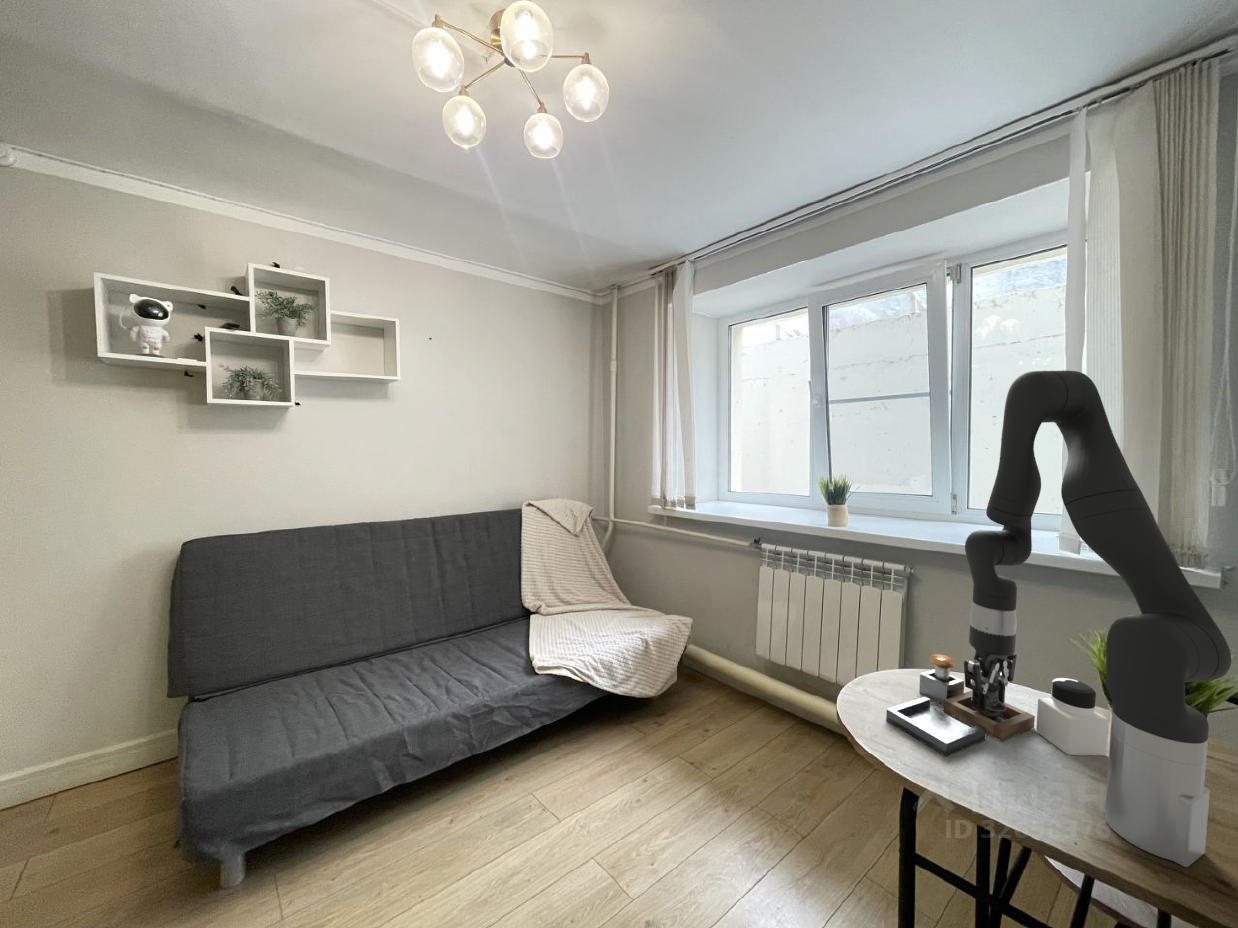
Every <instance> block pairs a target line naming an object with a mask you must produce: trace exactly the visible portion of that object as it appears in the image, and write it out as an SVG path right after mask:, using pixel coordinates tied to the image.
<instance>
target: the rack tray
mask: <svg viewBox="0 0 1238 928" xmlns="http://www.w3.org/2000/svg"><path fill="white" fill-rule="evenodd" d="M885 716H886V717H885V719H886V720H885V721H886V722H888V723H889V724H891V725H893V726H894V727H896V728H898V729H899V730H901V731H903V732H904V733H906V734H907V735H909V736H911V737H913V738H914V739H916V740H918V741H919V742H920V743H923V744H924V745H926V746H927V747H929V748H931V749H932V750H933V751H936V752H937V753H939V754H940V755H942V756H944V757H948V756H951V755H953V754H956V753H958V752H960V751H963V750H966V749H968V748H970V747H973V746H975V745H977V744H980V743H983V742H985V741H986V739H987V737H986V735H987V734H986V728H985V727H983V726H981V725H977V726H974V727H973V726H972V727H970V725H968V724H966V723H963V722H961V721H960V720H957V718H956V719H955V717H953V716H950V715H949V714H946V713H944V712H942V711H940V710H939V709H936V708H935V707H933V706H931V698H929V697H927V696H922V697H919V698H916V699H914V700H913V699H912V700H910V701H906V702H903V703H901V704H898V705H893V706H892V707H889V708H886V715H885Z"/></svg>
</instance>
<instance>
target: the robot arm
mask: <svg viewBox="0 0 1238 928" xmlns="http://www.w3.org/2000/svg"><path fill="white" fill-rule="evenodd" d="M1008 388H1009V389H1008V391H1007V393H1006V394H1007V395H1006V398H1005V403H1004V412H1003V422H1002V429H1001V431H1002V432H1001V441H1000V452H999V460H998V461H999V462H998V468H997V471H996V472H997V473H996V477H995V480H994V483H993V486H992V490H991V493H990V496H989V499H988V504H987V507H986V510H985V511H986V517H987V518H988V519H989V520H990V521H992V522H994V523H996V524H999V525H1001V526H1003V527H1002V530H988V529H987V530H981V529H979V530H975V531H972V532H971V533H970V534H969V535H968V536H967V538H966V540H965V543H964V550H965V551H964V552H965V555H966V558H967V563H968V566H969V570H970V574H971V579H972V582H973V586H972V587H973V588H972V604H971V607H970V608H971V609H970V613H969V617H970V618H969V632H968V633H969V635H968V643H969V645H970V647H972V648H973V649H974V650H975V652H974V653H975V654H974V657H973V660H968V659H965V660H964V662H963V669H964V673H963V674H964V688H967V689H969V690H970V691H972V690H973V694H972V706H973V707H972V708H974V707H975V708H977V709H979V710H981V711H984V710H985V709H986V692H987V689H988V686H989V684H992V683H993V680H994V676H995V673H996V672H998V673H999V680H998V685H999V686H1000V690H998V699H999V701H1000V702H1002V703H1004V702H1006V701H1005V697H1006V687H1008V685H1009V682H1010V683H1012V682H1013V681H1014V676H1015V671H1016V670H1015V669H1016V661H1017V654H1016V641H1017V623H1018V622H1017V621H1018V619H1017V597H1018V595H1017V593H1018V588H1017V583H1016V581H1014V579H1012V578H1009V577H1008V576H1007V577H1006V576H1004V575H999V574H997V571H996V569H995V566H1008V567H1009V566H1013V567H1014V566H1020V565H1022V564H1023V563H1025V562H1026V561H1027V560H1028V559H1029V558H1030V557H1031V553H1032V549H1033V545H1032V542H1033V541H1032V517H1033V514H1034V512H1035V509H1036V506H1037V503H1038V501H1039V498H1040V494H1041V490H1042V478H1041V474H1040V469H1039V467H1038V464H1037V461H1036V457H1035V449H1034V448H1035V440H1036V437H1037V434H1038V432H1039V429H1040V427H1041V425H1042V424H1043V423H1055V424H1056V426H1057V428H1058V429H1059V432H1060V433H1061V435H1062V437H1063V440H1064V442H1065V445H1066V448H1067V449H1066V450H1067V462H1066V466H1065V469H1064V474H1063V477H1062V481H1061V488H1060V489H1061V490H1060V492H1061V493H1060V494H1061V495H1060V496H1061V499H1062V502H1063V503H1062V504H1063V505H1064V507H1065V509H1066V512H1067V514H1068V517H1069V519H1070V521H1071V523H1072V526H1073V528H1074V530H1075V532H1076V534H1077V536H1079V537H1080V539H1081V540H1082V541H1083V542H1084V543H1085V544H1086V545H1087V546H1088V547H1089V548H1090V549H1091V550H1092V551H1093V552H1094V553H1095V554H1096V555H1097V556H1098V557H1099V558H1101V559H1102V560H1103V562H1105V563H1107V564H1108V566H1109V567H1110V568H1111V569H1112V570H1114V571H1115V572H1116V573H1117V575H1119V577H1120V578H1121V579H1122V580H1123V581H1124V582H1125V584H1126V585H1127V587H1128V588H1129V590H1130V592H1131V593H1132V596H1133V597H1134V598H1133V599H1134V600H1135V602H1136V605H1137V606H1138V608H1139V610H1140V613H1141V614H1138V613H1137V614H1129V615H1128V614H1127V615H1123V616H1120V617H1118V618H1117V619H1115V620H1114V621H1113V623H1112V624H1111V625H1110V627H1109V629H1108V631H1107V637H1106V641H1105V642H1106V644H1105V645H1106V646H1105V648H1106V649H1105V650H1106V651H1105V669H1106V670H1105V675H1106V676H1105V680H1106V688H1107V691H1108V694H1109V696H1110V699H1111V700H1112V701H1111V702H1112V705H1111V706H1112V708H1111V721H1110V732H1109V733H1110V736H1109V737H1110V738H1109V749H1108V761H1107V763H1108V765H1107V777H1106V792H1105V794H1106V795H1105V802H1104V820H1105V822H1106V823H1107V824H1108V826H1109V828H1111V829H1112V830H1113V831H1114V832H1115V833H1116V834H1117V835H1119V836H1120V837H1121V838H1122V839H1124V840H1125V841H1127V842H1129V843H1130V844H1131V845H1133V846H1135V847H1137V848H1138V849H1141V850H1143V851H1145V852H1148V853H1149V854H1152V855H1154V856H1156V857H1160V858H1162V859H1166V860H1170V861H1172V862H1175V863H1176V864H1179V865H1180V866H1182V867H1184V868H1188V867H1190V866H1191V865H1192V864H1194V862H1195V861H1197V860H1198V859H1199V858H1201V857H1202V856H1203V855H1204V854H1205V853H1206V843H1207V830H1208V818H1209V807H1210V806H1209V805H1210V794H1211V791H1210V789H1209V788H1208V787H1207V786H1205V778H1206V777H1205V776H1206V766H1207V765H1206V763H1207V751H1208V741H1209V731H1210V724H1209V720H1208V719H1207V718H1206V716H1205V715H1204V714H1203V713H1202V712H1201V711H1199V710H1197V709H1196V708H1194V707H1193V706H1191V705H1189V704H1187V703H1186V683H1189V682H1191V683H1193V682H1207V681H1214V680H1218V679H1221V678H1222V677H1224V676H1225V675H1226V674H1228V672H1229V670H1230V669H1231V665H1232V654H1231V650H1230V646H1229V644H1228V642H1227V640H1226V638H1225V636H1224V633H1222V631H1221V629H1220V628H1219V627H1218V625H1217V623H1216V622H1215V620H1214V619H1213V616H1211V614H1210V613H1209V611H1208V610H1207V608H1206V606H1204V603H1203V602H1202V601H1201V599H1200V598H1199V596H1198V595H1197V594H1196V592H1195V590H1194V589H1193V587H1192V586H1191V584H1190V583H1189V580H1188V579H1187V578H1186V576H1185V574H1184V573H1183V570H1182V569H1181V567H1180V565H1179V564H1178V561H1177V560H1176V557H1175V555H1174V554H1173V552H1172V549H1171V548H1170V546H1169V545H1168V543H1167V541H1166V539H1165V537H1164V535H1163V533H1162V532H1161V530H1160V528H1159V525H1158V523H1157V520H1156V519H1155V517H1154V516H1155V515H1154V514H1153V512H1152V510H1151V507H1150V506H1149V504H1148V502H1147V499H1146V498H1145V496H1144V494H1143V492H1142V490H1141V488H1140V487H1139V485H1138V483H1137V481H1136V480H1135V478H1134V476H1133V474H1132V472H1131V471H1130V468H1129V466H1128V464H1127V461H1126V460H1125V456H1124V455H1123V453H1122V451H1121V448H1120V446H1119V444H1118V443H1117V439H1116V438H1115V436H1114V433H1113V430H1112V428H1111V425H1110V421H1109V419H1108V416H1107V412H1106V410H1105V407H1104V403H1103V401H1102V398H1101V395H1100V393H1099V390H1098V388H1097V386H1096V385H1095V383H1094V381H1093V380H1092V379H1091V378H1090V377H1089V376H1088V375H1086V374H1085V373H1083V372H1080V371H1078V370H1077V371H1076V370H1067V369H1066V370H1034V371H1027V372H1025V373H1022V374H1021V375H1019V376H1018V377H1016V378H1015V379H1014V380H1013V381H1012V382H1011V385H1010V387H1008ZM981 674H983V675H986V676H988V677H987V678H984V677H982V676H981ZM981 680H982V681H983V685H982V687H981ZM975 708H974V709H975Z"/></svg>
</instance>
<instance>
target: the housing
mask: <svg viewBox="0 0 1238 928" xmlns="http://www.w3.org/2000/svg"><path fill="white" fill-rule="evenodd" d="M934 676H935V668H933V669H931V670H926V671H925V672H924V671H923V672H921V673H919V689H918V690H919V691H918V692H919V693H920V694H921V695H924V697H927V698H929V699H930V700H931V699H932V700H933V701H935V702H938V703H939V704H941V705H943V706H944V700H945V699H948V698H951V697H954V696H957V695H960V694H963V693H965V691H964V690H965V679H961V678H960V677H957V676H955V675H953V674H951V673H950V678H949V682H947V683H944V682H942V681H940V680H938V679H936V678H934Z"/></svg>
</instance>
